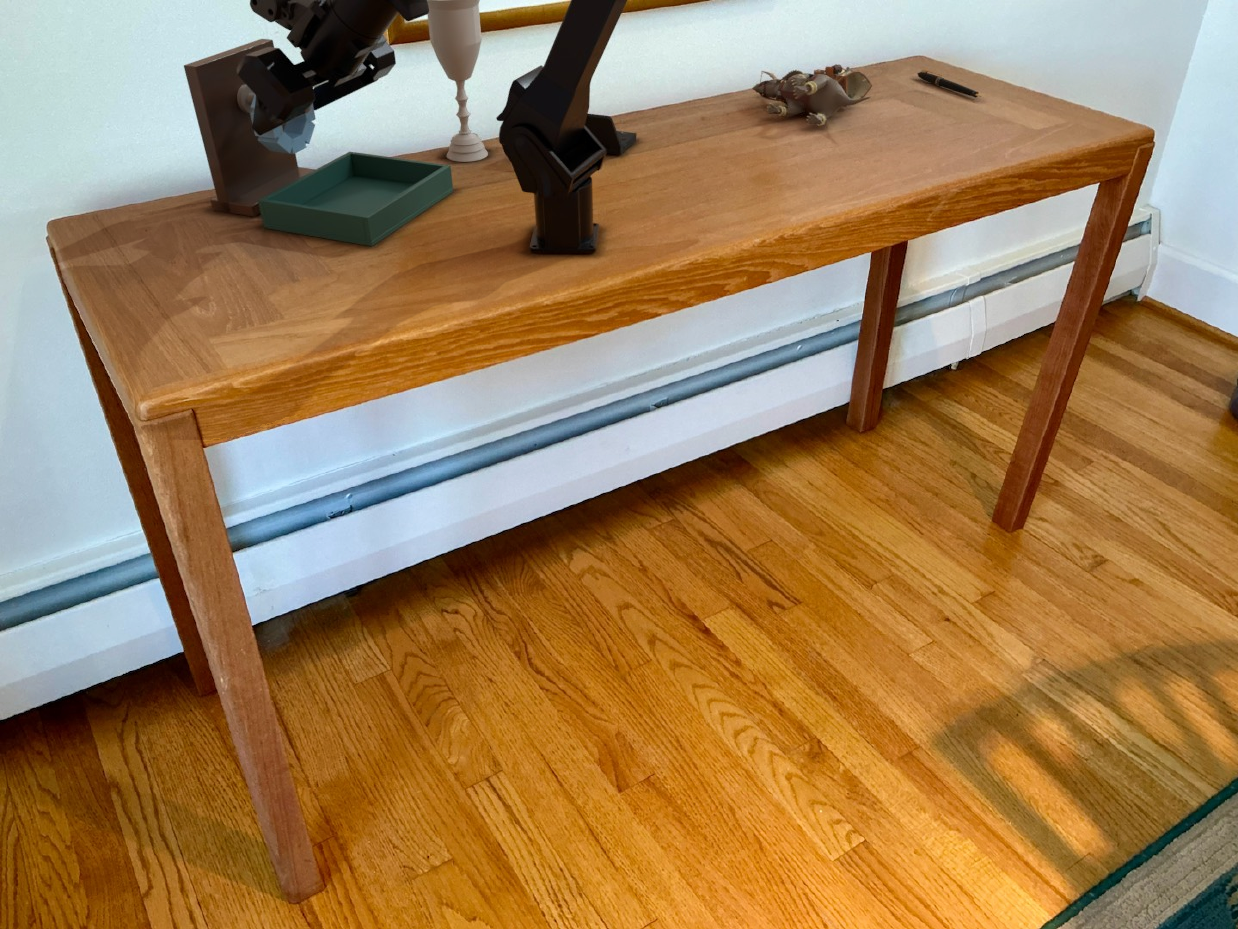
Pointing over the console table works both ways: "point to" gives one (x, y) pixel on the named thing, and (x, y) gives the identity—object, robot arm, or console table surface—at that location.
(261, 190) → the hook rack
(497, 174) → the console table surface
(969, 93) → the fountain pen
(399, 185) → the tray
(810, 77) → the figurine
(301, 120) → the blue segmented ring
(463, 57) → the chalice
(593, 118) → the bookend
